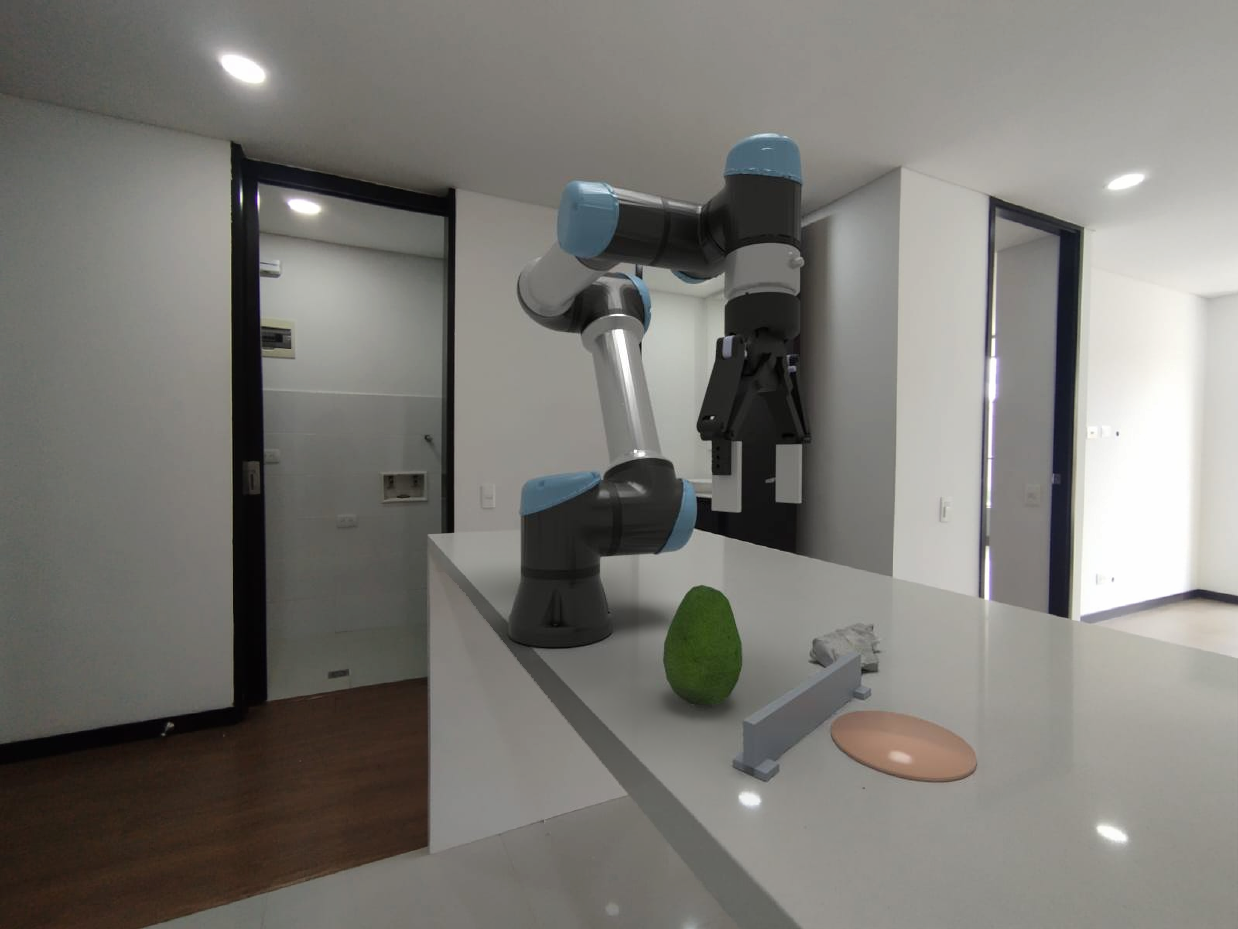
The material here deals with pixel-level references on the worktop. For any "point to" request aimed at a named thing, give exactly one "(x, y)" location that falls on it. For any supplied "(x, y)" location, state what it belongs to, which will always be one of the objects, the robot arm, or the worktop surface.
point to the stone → (847, 646)
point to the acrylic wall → (797, 715)
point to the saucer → (903, 746)
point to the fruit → (703, 648)
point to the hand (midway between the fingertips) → (760, 506)
